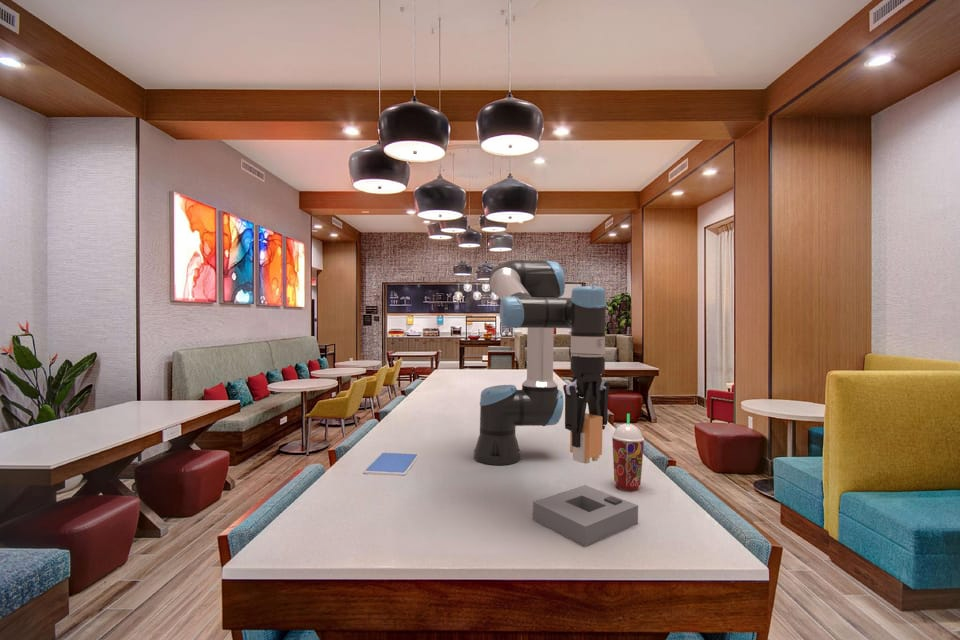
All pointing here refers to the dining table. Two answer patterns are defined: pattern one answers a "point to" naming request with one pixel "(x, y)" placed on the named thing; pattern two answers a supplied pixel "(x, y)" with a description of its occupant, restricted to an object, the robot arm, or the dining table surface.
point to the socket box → (585, 514)
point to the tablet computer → (392, 464)
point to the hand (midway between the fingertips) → (586, 459)
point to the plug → (591, 437)
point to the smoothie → (627, 456)
